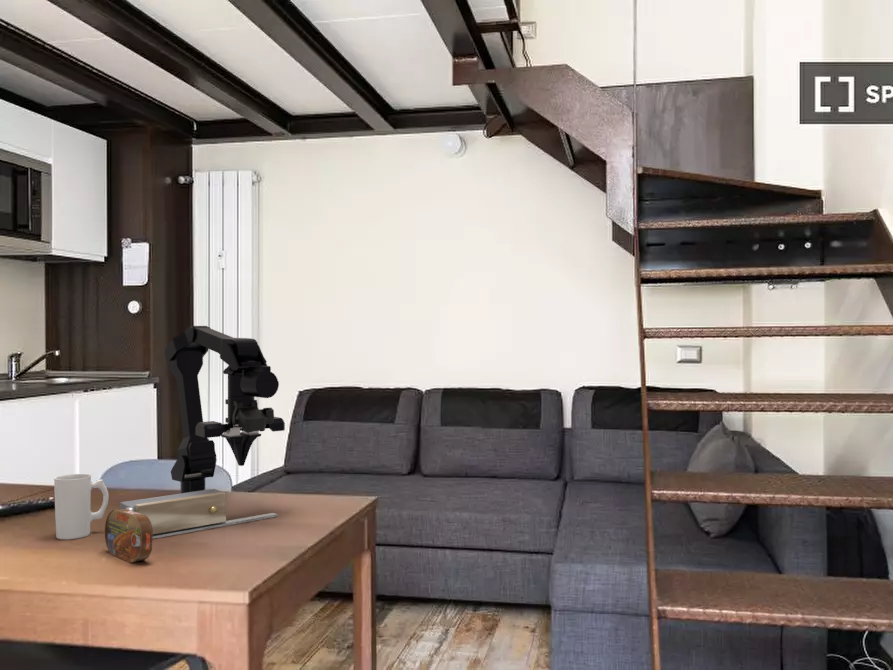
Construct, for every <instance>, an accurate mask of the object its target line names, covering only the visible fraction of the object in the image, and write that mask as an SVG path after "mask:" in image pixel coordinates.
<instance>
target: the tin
mask: <svg viewBox="0 0 893 670" xmlns="http://www.w3.org/2000/svg"><path fill="white" fill-rule="evenodd" d="M153 540H154V539H153V528H152V524H151V521H150V520H149V518H148V517H147V516H146V515H144V514H140V513H137V512H134V511H130V510H127V509H122V510H120V509H112V510H111V511H109V512H108V514H107V516H106V520H105V524H104V541H105V545H106V548H107V550H108V553H109V554H110V555H111V556H114V557H116V558H118V559H120V560H123V561H125V562H127V563H132V564H133V563H135V562H140V561H145V560H147V559H148V558H149V557H150V555H151V553H152V551H153V542H154V541H153Z"/></svg>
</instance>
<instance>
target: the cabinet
mask: <svg viewBox="0 0 893 670" xmlns="http://www.w3.org/2000/svg"><path fill="white" fill-rule="evenodd" d="M217 492H224V493H226V492H225V491H222V490H219V489H216V488H210V489H206V490H202V491H195V492H188V493H181V492H180V493H175V494H168V495H162V496H161V495H160V496H156V497H148V498H140V499H139V498H138V499H134V500H125V501H120V502H119V510H122V509H126V508H127V507H135V512H136V506H135V505H137V504H143V503H150V502H157V501H164V500H170V499H177V498H184V497H191V496H197V495H204V494H211V493H217Z"/></svg>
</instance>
